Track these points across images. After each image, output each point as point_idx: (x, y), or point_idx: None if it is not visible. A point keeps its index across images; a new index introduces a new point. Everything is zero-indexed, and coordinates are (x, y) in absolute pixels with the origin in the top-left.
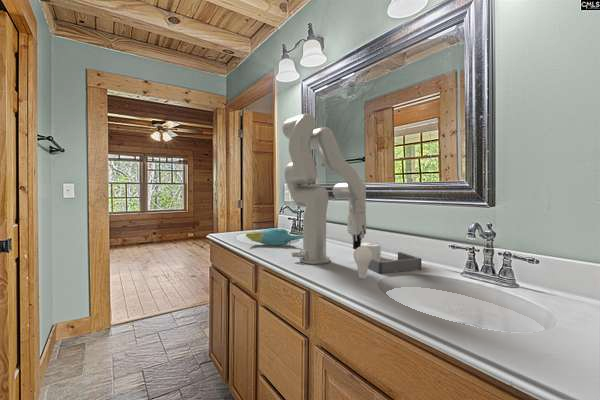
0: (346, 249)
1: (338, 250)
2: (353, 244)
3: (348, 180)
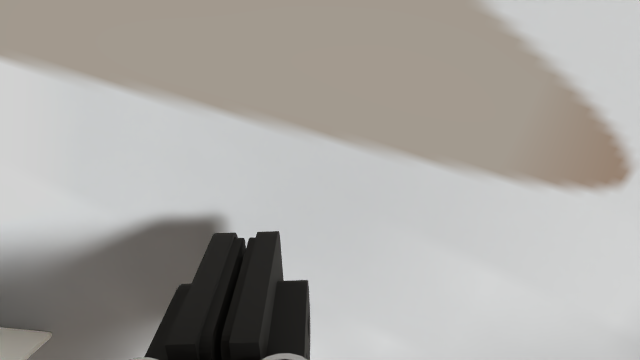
0: (588, 225)
1: (590, 61)
2: (254, 278)
3: None
